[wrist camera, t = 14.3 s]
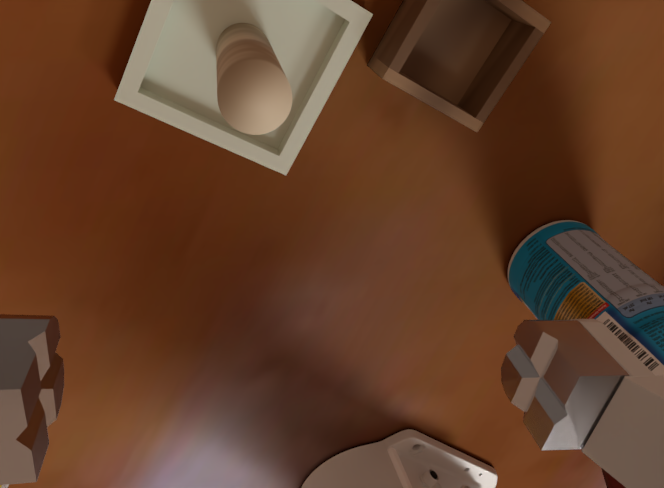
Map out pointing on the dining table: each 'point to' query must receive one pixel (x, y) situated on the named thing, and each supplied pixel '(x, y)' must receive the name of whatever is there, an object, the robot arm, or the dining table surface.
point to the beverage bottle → (590, 287)
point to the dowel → (250, 81)
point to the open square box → (458, 52)
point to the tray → (201, 73)
